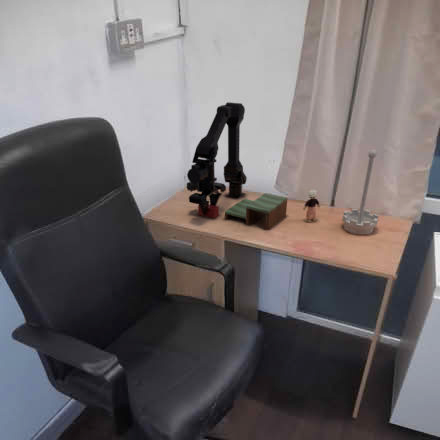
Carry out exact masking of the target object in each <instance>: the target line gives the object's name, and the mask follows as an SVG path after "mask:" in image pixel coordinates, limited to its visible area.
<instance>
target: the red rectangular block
mask: <svg viewBox="0 0 440 440" xmlns="http://www.w3.org/2000/svg"><path fill="white" fill-rule="evenodd" d="M197 214H198V215H199V216H202V217H207V218H211V219H216V218H218V217H219V216H220V208H219V206H218V205H216V206H214V205H210V203H209V205H208V209H207V213H206V215H203V213H202V210H201V208H200V206H199V204H197Z"/></svg>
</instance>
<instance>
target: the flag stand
mask: <svg viewBox="0 0 440 440" xmlns="http://www.w3.org/2000/svg"><path fill="white" fill-rule="evenodd" d="M377 155H378V152H377V150H376V149H370V150H369V151H368V153H367V156H368V164H367V170H366V174H365V179H364V185H363V190H362V195H361V201H360V207H359V208H351V211H349V210H345V211H343V214H342V218H341V219H342V222H343V229H344V231H346V232H348V233H350V234H353V235H360V236H361V235H362V236H363V235H369V234H371V233H373V231H374V227H377V225H378V224H379V223H378V222H379V214H377V213H373V214H371V213H372V212H371V210H369V209H365V206H366V202H367V196H368V190H369V185H370V181H371V175H372V169H373V165H374V161H375V158H376V157H377Z"/></svg>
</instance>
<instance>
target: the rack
mask: <svg viewBox="0 0 440 440" xmlns="http://www.w3.org/2000/svg"><path fill="white" fill-rule="evenodd" d="M287 207H288V197H287V196H282V195H277V194H272V193H269V192H268V193H267V192H265V193H263V194H262V195H260V196H259V197H257V198H256V199H254V200H253V199H248V198H243V199H241V200H240V201H239V202H237V203H235V204H234V205H232V206H230V207H229V208H227V209H226V210H224V220H226V221H228V220H229V219H231V218H232V217H236V218H237V217H238V218H241V219H245V225H246V226H250V225H251V224H252V223H254V222H255V221H257V220H258V219H259V218H260V217H262V216H263V215H265V231H269V230H270V229H272V228H273V227H274V226H275V225H276V224H278V223H279V222H281V221H282V220H284V218H285V217H286V216H287Z"/></svg>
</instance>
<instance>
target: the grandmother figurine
mask: <svg viewBox="0 0 440 440" xmlns="http://www.w3.org/2000/svg"><path fill="white" fill-rule="evenodd" d="M317 196H318V192H317V190H316V189H311V190H309V191H308V197H309V199H308V200H307V201H306V202H305V204H304V206H303V208H302V210H304V211H305V210H306V214H305V219H304V221H305V222H307V223H311V222H316V215H317V213H316V212H317V209H316V208H321V205H320V202H319V200H318V198H316V197H317ZM316 206H317V207H316Z"/></svg>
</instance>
